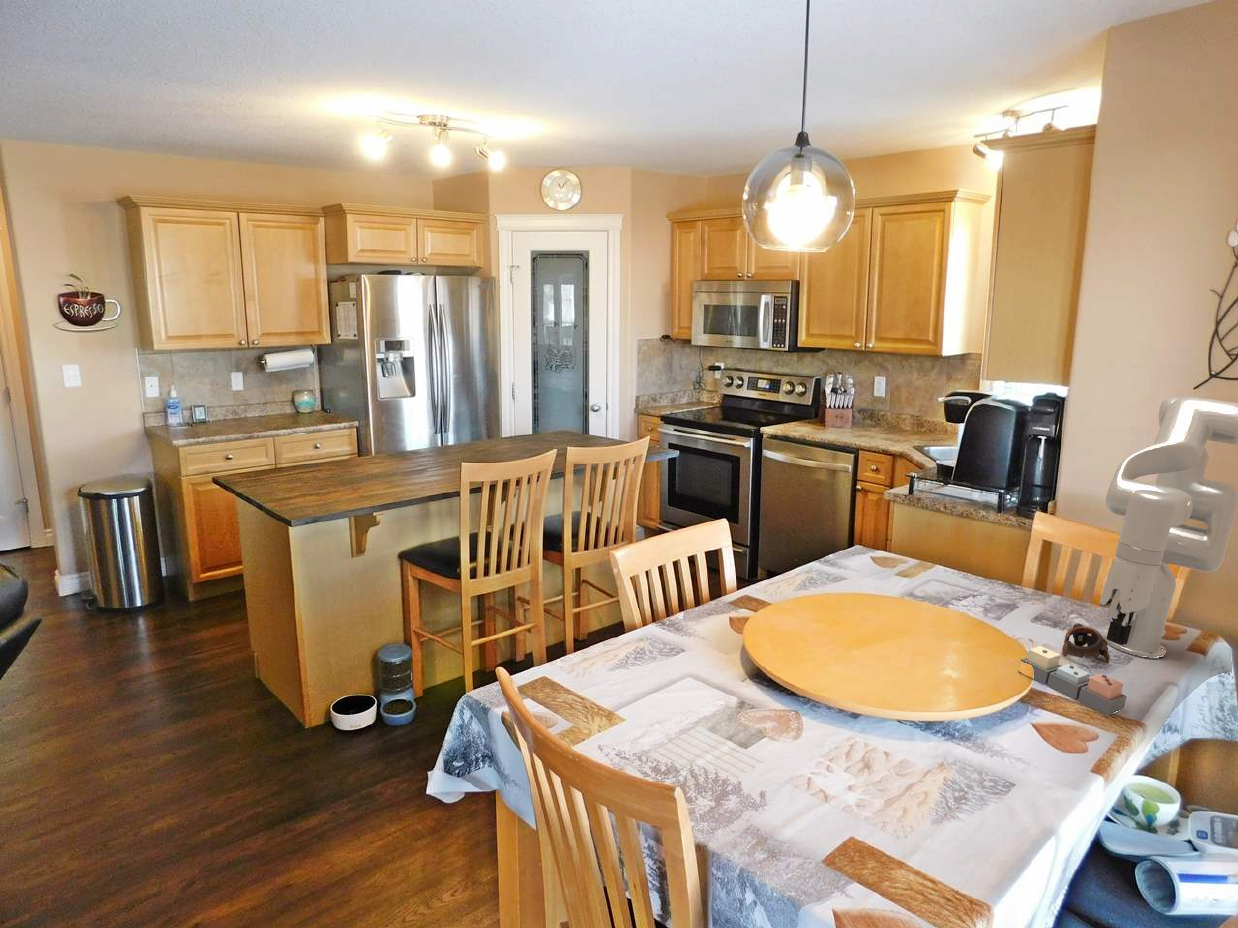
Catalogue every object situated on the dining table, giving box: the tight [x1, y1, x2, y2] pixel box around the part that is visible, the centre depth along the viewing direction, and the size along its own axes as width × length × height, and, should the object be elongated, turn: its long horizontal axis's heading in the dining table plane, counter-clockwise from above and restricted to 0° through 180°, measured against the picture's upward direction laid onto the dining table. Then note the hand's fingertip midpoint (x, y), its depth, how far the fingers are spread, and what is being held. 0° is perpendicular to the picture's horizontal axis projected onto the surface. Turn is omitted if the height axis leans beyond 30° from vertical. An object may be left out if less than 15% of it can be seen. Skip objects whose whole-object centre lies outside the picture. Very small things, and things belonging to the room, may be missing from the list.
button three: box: [1087, 673, 1124, 700], centre depth 162 cm, size 4×4×4 cm
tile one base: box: [1020, 656, 1063, 686], centre depth 173 cm, size 6×6×3 cm
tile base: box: [1077, 685, 1128, 716], centre depth 162 cm, size 6×6×3 cm
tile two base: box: [1046, 671, 1090, 701], centre depth 168 cm, size 6×6×3 cm
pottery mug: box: [1061, 623, 1110, 664], centre depth 185 cm, size 12×10×8 cm
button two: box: [1056, 663, 1091, 685], centre depth 167 cm, size 4×4×4 cm
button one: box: [1026, 645, 1061, 670], centre depth 172 cm, size 4×4×4 cm
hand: (1116, 641), depth 159 cm, fingers closed
